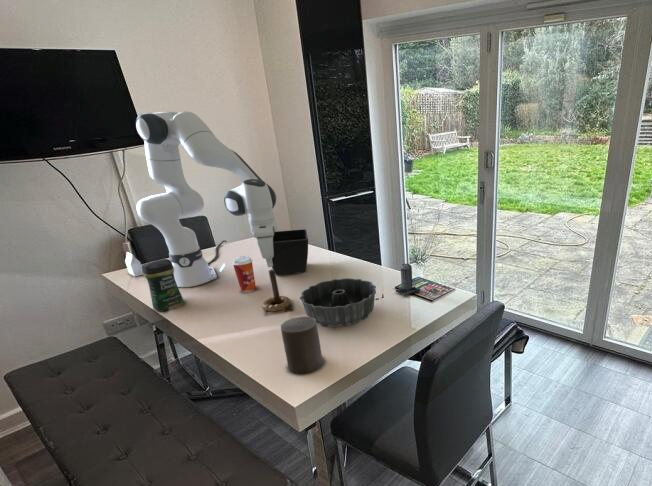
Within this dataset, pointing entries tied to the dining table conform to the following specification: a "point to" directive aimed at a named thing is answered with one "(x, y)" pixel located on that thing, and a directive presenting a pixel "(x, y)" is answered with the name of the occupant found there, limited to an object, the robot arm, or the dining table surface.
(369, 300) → the bundt pan
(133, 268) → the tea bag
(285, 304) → the ring
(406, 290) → the grey tower model
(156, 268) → the coffee jar
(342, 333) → the dining table surface
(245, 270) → the paper cup
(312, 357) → the pillar candle
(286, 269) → the flower pot
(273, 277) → the post
